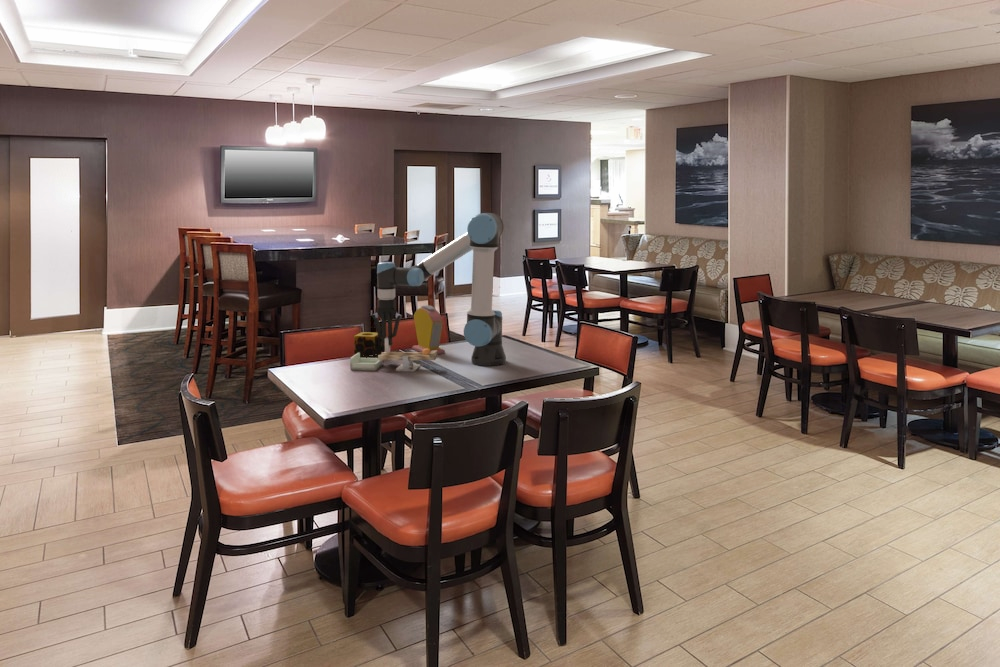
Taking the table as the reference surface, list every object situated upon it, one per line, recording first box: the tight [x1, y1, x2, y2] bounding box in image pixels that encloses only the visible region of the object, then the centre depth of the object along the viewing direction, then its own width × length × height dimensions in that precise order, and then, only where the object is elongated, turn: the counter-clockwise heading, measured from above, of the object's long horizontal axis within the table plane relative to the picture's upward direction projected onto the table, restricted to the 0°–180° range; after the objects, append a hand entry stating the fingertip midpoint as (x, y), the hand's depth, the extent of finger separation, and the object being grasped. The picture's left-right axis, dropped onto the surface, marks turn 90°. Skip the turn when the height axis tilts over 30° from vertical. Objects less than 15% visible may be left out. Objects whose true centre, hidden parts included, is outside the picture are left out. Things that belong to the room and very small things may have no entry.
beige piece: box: [377, 350, 438, 361], centre depth 317 cm, size 25×13×4 cm, turn 82°
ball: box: [422, 348, 431, 355], centre depth 313 cm, size 4×4×4 cm
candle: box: [353, 331, 384, 358], centre depth 339 cm, size 10×10×10 cm
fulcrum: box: [395, 356, 421, 373], centre depth 314 cm, size 8×10×6 cm
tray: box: [349, 353, 384, 371], centre depth 317 cm, size 11×11×5 cm
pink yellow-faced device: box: [411, 305, 446, 356], centre depth 346 cm, size 22×9×22 cm, turn 30°
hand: (387, 352), depth 322 cm, fingers closed
